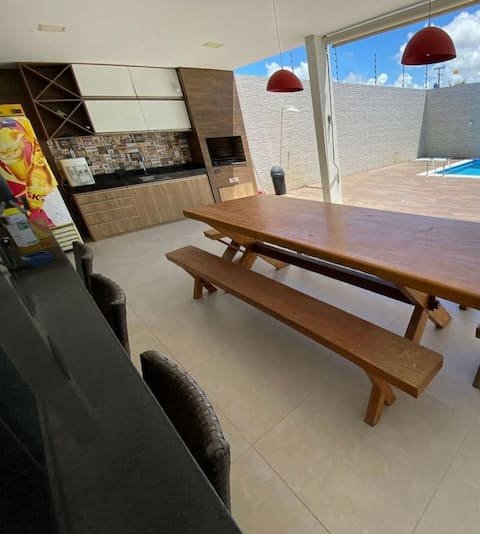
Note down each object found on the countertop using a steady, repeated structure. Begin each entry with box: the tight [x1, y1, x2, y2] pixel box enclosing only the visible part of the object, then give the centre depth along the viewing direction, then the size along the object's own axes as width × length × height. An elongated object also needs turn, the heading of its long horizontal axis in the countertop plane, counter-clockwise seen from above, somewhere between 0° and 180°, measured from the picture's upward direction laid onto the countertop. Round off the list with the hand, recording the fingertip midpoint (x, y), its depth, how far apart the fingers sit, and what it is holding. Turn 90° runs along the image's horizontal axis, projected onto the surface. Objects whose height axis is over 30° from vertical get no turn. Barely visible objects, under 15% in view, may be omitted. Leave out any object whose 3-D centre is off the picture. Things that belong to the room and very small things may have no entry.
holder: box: [20, 250, 55, 269], centre depth 148 cm, size 8×8×5 cm
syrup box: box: [3, 212, 41, 248], centre depth 141 cm, size 6×6×14 cm
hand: (16, 222), depth 140 cm, fingers closed on syrup box, 6 cm apart
